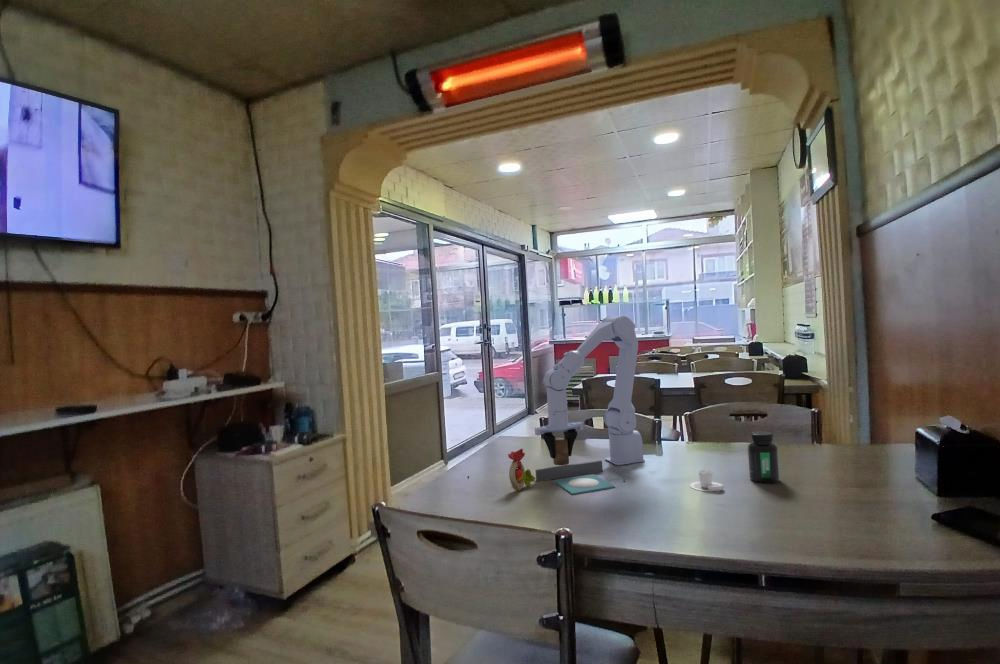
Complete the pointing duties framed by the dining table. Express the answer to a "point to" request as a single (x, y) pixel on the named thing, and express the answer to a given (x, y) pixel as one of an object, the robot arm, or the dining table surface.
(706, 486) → the teacup and saucer
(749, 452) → the supplement bottle
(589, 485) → the mat
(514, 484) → the bird rattle
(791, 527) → the dining table surface
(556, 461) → the walnut cylinder
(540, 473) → the low wall
